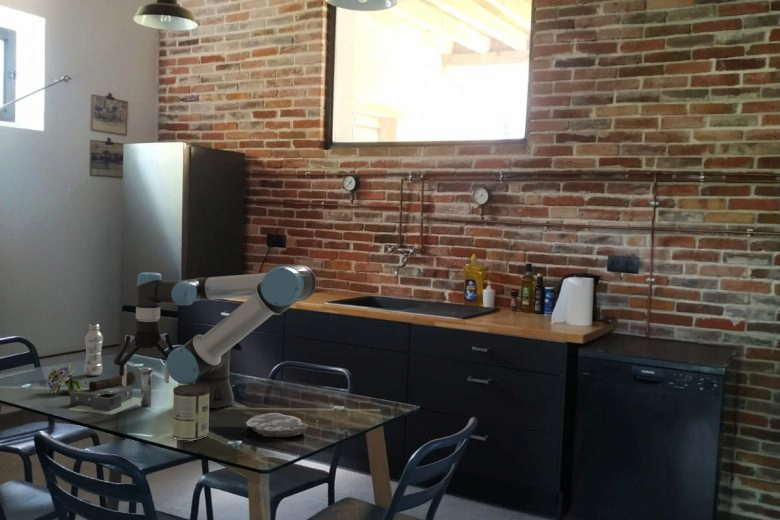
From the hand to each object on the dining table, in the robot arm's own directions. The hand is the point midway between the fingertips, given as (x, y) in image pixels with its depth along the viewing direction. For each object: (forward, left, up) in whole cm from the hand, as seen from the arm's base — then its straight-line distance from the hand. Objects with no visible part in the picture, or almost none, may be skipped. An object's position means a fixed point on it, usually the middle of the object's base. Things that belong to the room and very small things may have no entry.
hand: (145, 384), depth 236 cm
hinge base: (+15, +7, -7) cm, 18 cm away
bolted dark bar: (+10, -2, -7) cm, 12 cm away
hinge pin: (0, 0, -8) cm, 8 cm away
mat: (+12, +2, -8) cm, 14 cm away
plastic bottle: (+43, -33, -8) cm, 55 cm away
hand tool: (+26, -21, -8) cm, 34 cm away
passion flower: (+35, -6, -8) cm, 36 cm away
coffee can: (-28, +23, -8) cm, 37 cm away
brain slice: (-49, +10, -8) cm, 51 cm away
